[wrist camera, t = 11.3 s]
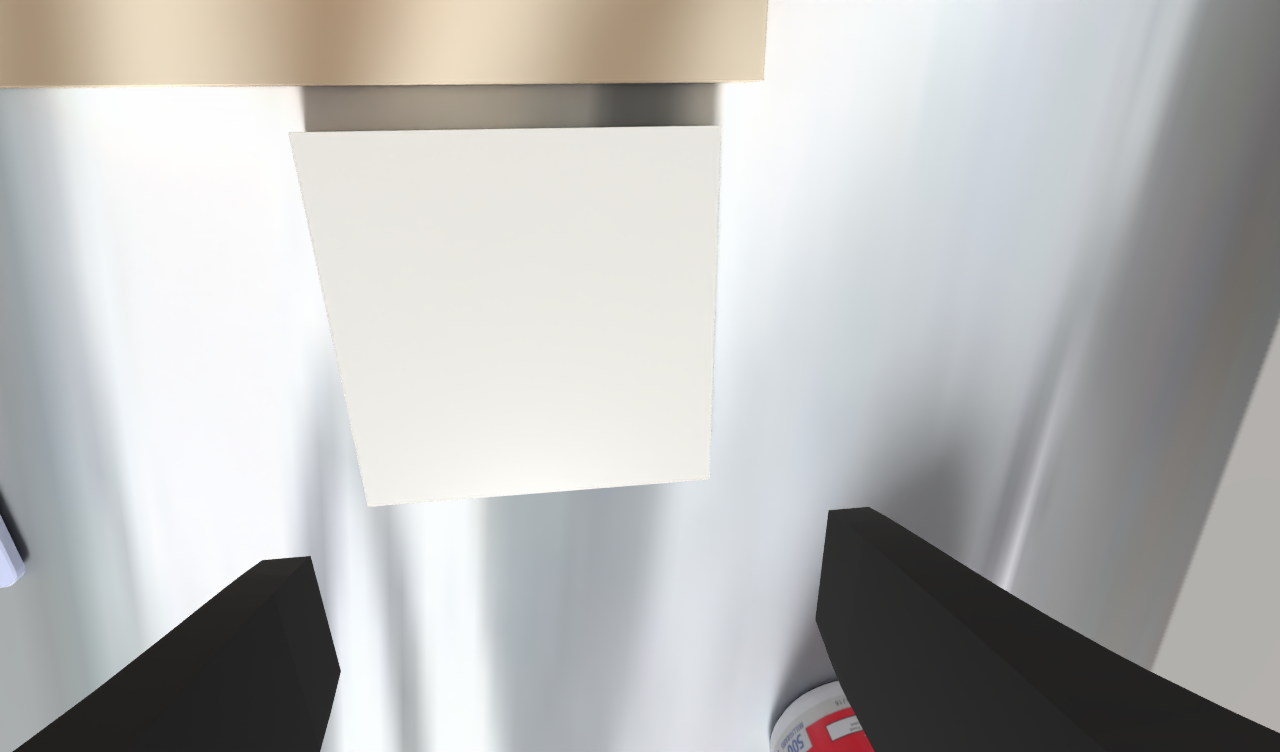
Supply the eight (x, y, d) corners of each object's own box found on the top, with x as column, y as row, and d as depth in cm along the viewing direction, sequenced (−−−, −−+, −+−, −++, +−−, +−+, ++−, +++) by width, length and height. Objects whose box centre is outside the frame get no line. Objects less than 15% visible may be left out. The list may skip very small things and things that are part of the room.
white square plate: (376, 487, 19) (367, 506, 18) (304, 131, 15) (288, 132, 14) (702, 462, 20) (709, 479, 19) (711, 125, 16) (721, 125, 15)
